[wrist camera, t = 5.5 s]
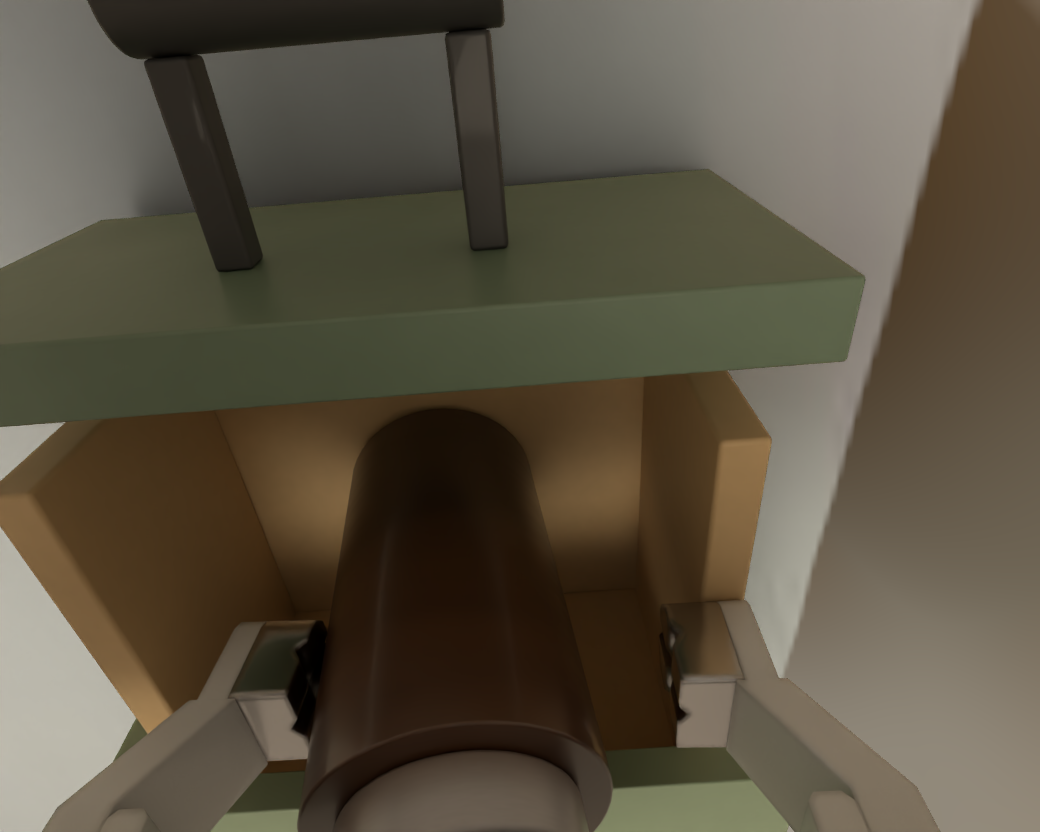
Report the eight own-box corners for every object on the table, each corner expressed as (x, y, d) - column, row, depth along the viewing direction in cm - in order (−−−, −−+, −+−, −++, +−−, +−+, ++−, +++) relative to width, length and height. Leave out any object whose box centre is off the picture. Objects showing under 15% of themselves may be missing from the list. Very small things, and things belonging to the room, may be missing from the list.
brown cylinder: (333, 421, 15) (232, 850, 7) (523, 395, 15) (637, 773, 7) (372, 562, 17) (330, 999, 9) (535, 536, 17) (630, 936, 10)
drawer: (-4, -19, 11) (-537, -68, 5) (731, -87, 11) (984, -214, 5) (267, 603, 20) (174, 832, 14) (674, 574, 20) (744, 795, 14)
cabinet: (234, 529, 20) (78, 823, 12) (692, 495, 19) (806, 776, 12) (335, 759, 27) (273, 1030, 20) (668, 737, 27) (730, 1003, 19)
